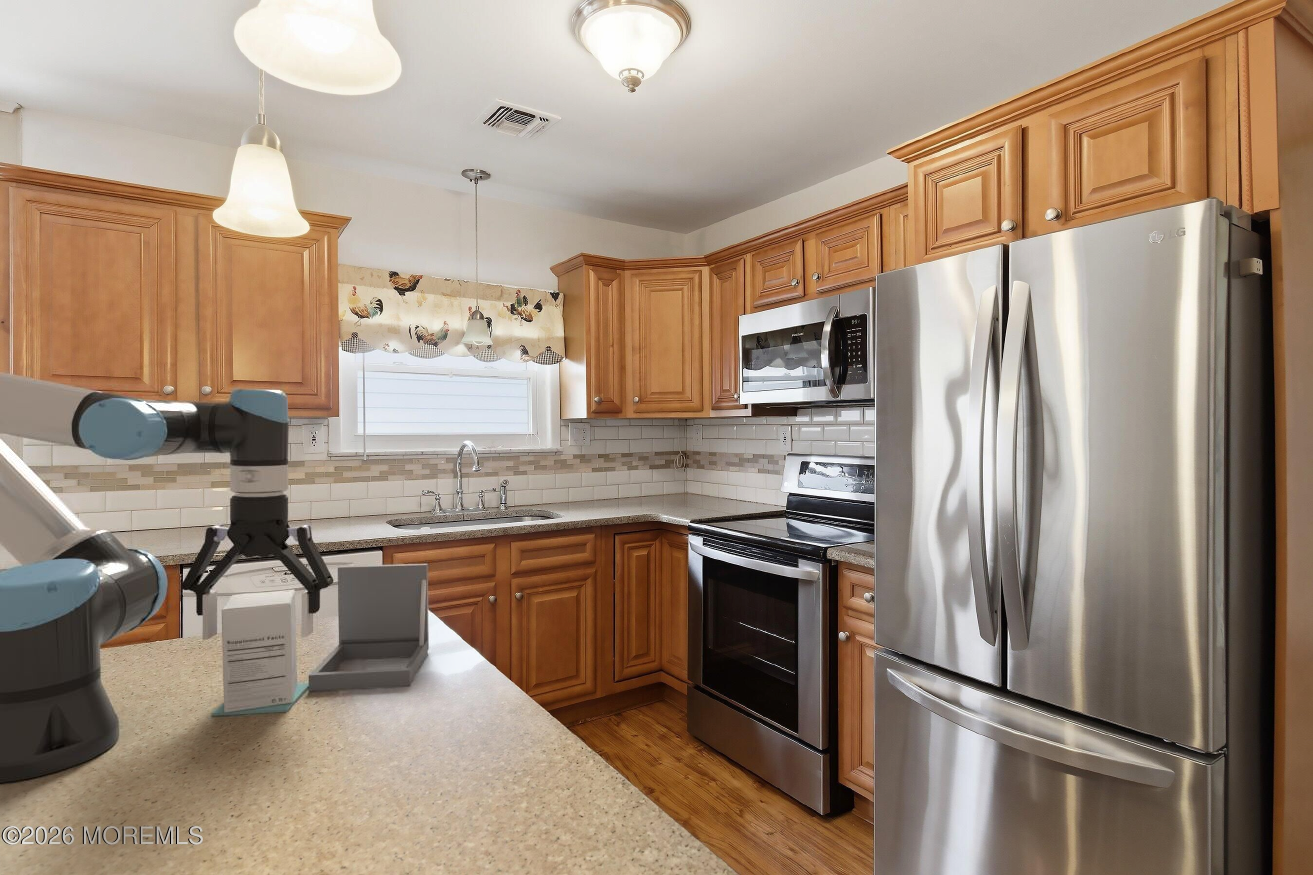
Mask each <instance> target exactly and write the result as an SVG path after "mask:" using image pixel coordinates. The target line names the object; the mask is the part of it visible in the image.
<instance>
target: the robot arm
mask: <svg viewBox="0 0 1313 875" xmlns="http://www.w3.org/2000/svg"><path fill="white" fill-rule="evenodd" d="M288 403H289V402H288V396H287V394H286V393H284V391H282V390H279V389H263V388H262V389H260V388H256V389H255V388H235V389H233V390H232V391H231V392H230V395H229V398H228V401H223V402H222V401H220V402H214V401H213V402H212V401H190V400H187V401H186V400H185V401H183V400H172V399H171V400H170V399H168V400H166V399H161V400H159V399H144V398H136V397H130V396H126V395H120V394H115V393H110V392H104V391H98V390H95V389H94V390H93V389H89V388H84V387H79V386H74V385H69V384H63V383H59V382H53V381H49V380H43V379H37V378H32V377H28V376H24V375H23V376H22V375H18V374H12V373H8V372H1V371H0V434H1V435H5V436H6V435H7V436H10V437H11V436H12V437H13V436H14V437H19V438H23V439H29V440H35V441H39V442H41V441H42V442H45V443H52V444H57V445H63V446H69V447H73V448H80V449H83V450H89V451H91V452H92V453H94V454H95V455H97V456H99V457H101V458H105V459H110V460H123V461H134V460H135V461H136V460H138V459H142V458H143V459H144V458H151V457H158V456H169V455H170V456H171V455H178V454H179V455H181V454H182V455H183V454H218V453H219V454H229V457H230V458H229V460H230V461H229V464H230V467H229V468H230V472H229V473H230V476H229V477H230V478H229V481H230V482H229V487H230V488H229V489H230V490H229V491H231V492H232V493H234V495H232V496H231V497H230V498H229V520H230V525H229V527H225V526H224V527H223V526H222V525H221V524H216V525H212V526H210V527H208V528H206V530H205V535H204V543H203V544H202V546H201V548H200V550H199V552H198V553H197V555H196V558H195V559H194V561H193V563H192V565H191V567H190V568H189V571H188V572H187V574H186V575H185V578H184V579H183V581H182V584H181V586H180V587H181V589H182V590H183V591H189V592H192V593H194V594H195V595H196V596H195V597H196V598H195V600H196V601H195V603H196V604H195V605H196V606H195V608H196V609H195V611H196V615H197V616H202V640H203V641H204V640H205V641H206V640H210V639H211V638H213V637H214V636H216V635H218V590H212V589H213V588H214V586H215V585H216V584H217V583H218V582H219V580H220V579H221V578H222V577H223V576H224V575H225V574H226V573H227V572H228V571H229V569H231V567H232V566H233V565H234V564H235V563H236V562H237V561H238V560H239V558H241V557H242V556H244V557H245V558H253V557H260V558H269V557H270V556H273V557H274V558H275V559H277V560H278V561H279V562H281V563H282V565H284V567H285V568H286V569H287V570H288V571H289V572H290V574H292V576H293V577H294V578H295V579H296V580H297V582H298V583H300V584H301V586H302V587H303V588H304V589H306V590H305V591H304V592H302V593H301V638H308V637H309V636H310V635H311V634H312V633H314V614H317V612H319V611H320V609H321V608H320V607H321V590H323V589H327V588H328V587H329V586H331V585H332V584H333V583H334V581H335V580H334V578H333V576H332V574H331V572H330V570H329V568H328V566H327V565H326V562H325V561H324V558H323V557H322V555H321V553H320V551H319V549H318V548H317V545H316V544H315V542H314V540H313V536H312V535H313V534H312V527H311V525H309V524H304V525H302V526H295V527H290V525H289V521H288V520H289V496H288V495H287V493H284V492H287V490H289V459H288V458H289V432H290V430H289V428H290V426H289V425H290V423H291V422H290V419H289V406H288V405H289V404H288ZM226 537H227V538H228V539H229V540H230V542H231V543H232V544H233V545H232V546H231V548H230V549H229V550H228V551H226V553H225V554H224V556H223V557H222V558H221V560H220V561H219V562H218V563H217V564H216V565H215V566H214V567H213V568H212V569H211V571H210V572H209V573H208V574H207V575H206V576H205V577H204V578H203V576H204V574H205V573H206V571H207V569H208V567H209V565H210V563H211V562H212V559H213V557H214V555H215V554H216V552H217V550H218V548H219V547H220V544H221V542H223V541H224V540H225V539H226ZM290 537H292V538H293V540H294V541H295V542H297V543H298V547H299V548H300V550H301V552H302V554H303V556H304V558H305V560H306V562H307V563H308V565H309V567H310V570H311V571H312V572H311V571H310V570H309V568H308V567H307V566H306V565H305V563H303V562H302V561H301V560H300V559H299V557H298V556H297V555H296V554H295V553H294V552H293V549H292V548H291V547H290V545H289V544H288V543H287V540H288V539H289V538H290ZM0 545H1V546H2V547H3V549H4V550H6V551H7V552H8V553H9V554H10V556H12V557H13V558H14V559H15V560H16V561H17V562H18V563H19V564H20V565H19V566H18V565H17V566H15V567H11V568H7V569H5V570H2V571H0V783H9V782H15V781H22V780H28V779H32V778H33V779H34V778H36V777H40V776H45V775H49V774H53V773H56V772H59V771H63V770H65V769H68V768H72V767H74V766H77V765H79V764H81V763H84V762H87V761H89V760H91V759H93V758H95V757H97V756H99V755H102V754H103V753H104V752H106V751H107V750H109V749H111V748H112V747H113V746H114V745H115V744H116V743H117V742H118V741H119V738H120V720H119V717H118V715H117V714H116V712H115V709H114V707H113V704H112V702H111V700H110V698H109V696H108V693H107V692H106V690H105V688H104V685H103V682H102V678H101V674H102V673H101V671H102V669H101V646H102V645H104V644H106V643H108V642H110V641H112V640H114V639H116V638H117V637H119V636H122V635H123V634H126V633H128V632H132V631H134V630H136V629H137V628H139V627H140V626H141V625H143V623H145V622H146V621H147V620H149V619H150V618H152V617H153V616H154V615H155V614H156V613H157V612H158V610H160V608H161V607H162V606H163V604H164V602H165V598H166V596H167V592H168V591H167V589H168V576H167V573H166V570H165V568H164V566H163V565H162V563H161V562H160V561H159V559H158V558H157V557H156V556H154V555H153V554H151V553H150V552H148V551H145V550H141V549H138V548H131V547H125V545H123V543H121V541H120V540H119V539H118V538H117V537H116V536H115V535H114V534H113V533H112V532H111V531H110V530H107V529H99V528H98V529H97V528H95V529H93V528H90V527H89V526H88V525H86V523H85V522H84V521H82V519H81V518H80V517H79V516H78V515H77V514H76V513H75V512H74V511H73V510H72V509H71V508H70V507H69V506H68V505H67V504H66V503H65V502H64V501H63V500H62V499H61V498H60V497H59V496H58V495H57V494H56V493H55V492H54V491H53V490H52V489H51V488H50V487H49V486H48V484H46V483H45V482H44V481H43V480H42V479H41V478H40V477H39V475H37V474H36V473H35V472H34V471H33V470H32V469H31V467H30V466H28V465H27V463H26V462H24V461H23V460H22V459H21V458H20V456H18V455H17V454H16V453H15V451H13V450H12V449H11V448H10V447H9V446H8V444H6V443H5V441H3V439H1V438H0ZM202 578H203V579H202Z"/></svg>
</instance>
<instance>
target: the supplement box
mask: <svg viewBox="0 0 1313 875" xmlns="http://www.w3.org/2000/svg"><path fill="white" fill-rule="evenodd" d="M296 617H297V616H296V590H295V589H287V590H276V591H264V592H250V593H249V592H248V593H247V592H246V593H237V594H232V595H231V596H230V597H229V599H228V600H227V602H226V603H225V604H224V606H223V608H222V609H221V639H222V640H221V642H222V679H223V680H222V682H223V685H222V686H223V703H224V713H227V712H233V711H240V710H248V709H254V708H261V707H268V706H275V705H282V704H288V703H292V702H293V699H294V694H295V690H296V685H297V684H298V662H297V661H298V658H297V657H298V656H297V655H298V654H297V622H296V620H297V618H296Z"/></svg>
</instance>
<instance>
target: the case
mask: <svg viewBox="0 0 1313 875" xmlns="http://www.w3.org/2000/svg"><path fill="white" fill-rule="evenodd" d="M428 565H429V564H428V563H407V564H379V565H378V564H375V565H374V564H373V565H343V566H342V565H339V566H337V599H338V600H337V602H338V604H337V605H338V606H337V607H338V608H337V609H338V610H337V612H338V616H337V617H338V644H337V645H336V647H335V648H334V649H332V650H331V652H330V653H328V655H327V656H326V657H325V658H324V659H323V660H322V661H321V662H320V663H319V664H318V665H317V666H316V667H315V668H314V669H313V670H312V671H311V672H310V673H309V675H308V683H309V688H308V692H321V691H341V690H343V691H344V690H358V689H359V690H360V689H361V690H362V689H379V688H397V687H398V688H399V687H411V685H412V683H413V681H414V679H415V678H416V676H417V674H418V672H419V670H420V669H421V667H422V664H423V663H424V662H425V660H426V658H427V656H428V653H429V648H430V647H429V641H430V639H429V638H430V637H429V636H430V635H429V632H430V631H429V576H428V572H429V567H428ZM391 658H395V659H396V658H410V659H409V660H408V662H407V663H406V665H405V667H404V668H385V669H384V668H383V669H365V670H363V669H362V670H361V669H360V670H347V671H346V670H345V671H343V670H342V671H335V670H336V669H337V668H338V667H339V666H340V665H341V663H342V662H343V661H350V660H351V661H352V660H354V661H355V660H366V659H367V660H372V659H375V660H376V659H391Z"/></svg>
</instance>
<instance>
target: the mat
mask: <svg viewBox="0 0 1313 875" xmlns="http://www.w3.org/2000/svg"><path fill="white" fill-rule="evenodd" d="M308 690H309V682H306V683H305V682H304V683H297V685H296V690H295V694H294V699H293V702H292V703H288V704H282V705H275V706H268V707H261V708H254V709H248V710H240V711H233V712H227V713H224V702H223V703H222V704H221V705H219V706H218V707H217V708H216V709H214V711H212V712H211V717H218V716H233V715H234V716H235V715H236V716H237V715H252V714H272V713H287V712H289V710H290V709H291V708H292V707H293V705H295V704H296V702H298V700H299V699H300V698H302V696H303V695H304V694H305V693H306V691H308Z"/></svg>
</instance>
